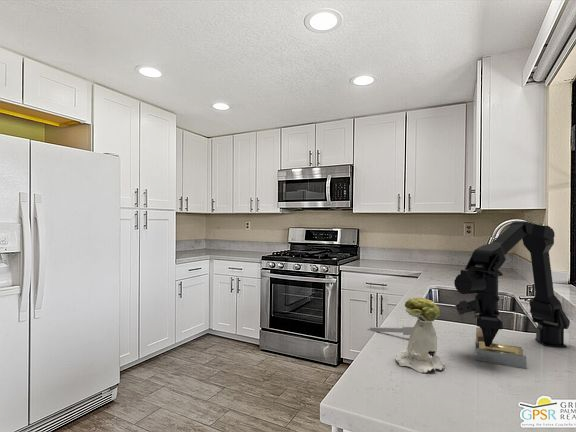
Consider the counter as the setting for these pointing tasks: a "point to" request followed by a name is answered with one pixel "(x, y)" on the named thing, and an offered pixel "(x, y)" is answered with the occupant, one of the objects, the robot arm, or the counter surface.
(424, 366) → the ceramic tree figurine
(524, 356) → the v block
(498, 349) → the golden bar
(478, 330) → the walnut beam
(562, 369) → the counter surface
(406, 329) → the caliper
